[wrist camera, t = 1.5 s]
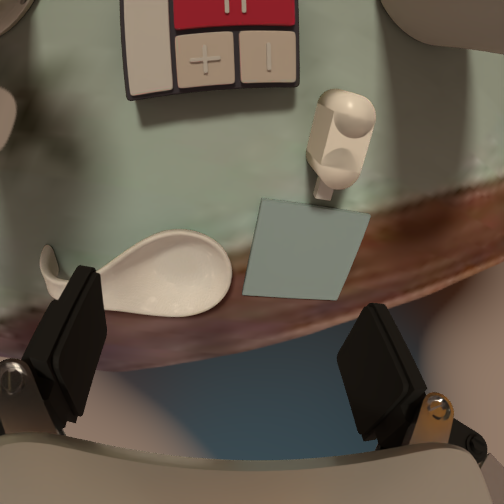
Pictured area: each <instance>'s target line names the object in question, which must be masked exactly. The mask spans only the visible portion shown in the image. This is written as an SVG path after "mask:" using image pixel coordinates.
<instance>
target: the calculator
mask: <svg viewBox="0 0 504 504" xmlns="http://www.w3.org/2000/svg"><path fill="white" fill-rule="evenodd" d="M120 26H121V44H122V57H123V69H124V80H125V90H126V97H127V99H128V100H129V101H134V100H140V99H146V98H152V97H159V96H166V95H173V94H181V93H190V92H200V91H211V90H224V89H240V88H269V87H297V86H298V85H299V82H300V61H299V9H298V0H120Z"/></svg>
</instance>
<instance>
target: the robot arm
mask: <svg viewBox="0 0 504 504" xmlns="http://www.w3.org/2000/svg"><path fill="white" fill-rule="evenodd" d="M33 1H34V0H0V36H1V35H3V34H4V33H6V32H7V31H9V30H10V29H11V28H12V27H13V26H14V25H15V24H17V22H18V21H19V20H20V19H21V18H22V17H23V16H24V15H25V13H26V12H27V10H28V9H29V8H30V6H31V5H32V3H33ZM106 335H107V326H106V319H105V312H104V304H103V295H102V286H101V276H100V273H96V270H95V268H93V267H87V266H81V265H79V266H78V267H77V268H76V270H75V271H74V273H73V275H72V277H71V278H70V280H69V282H68V283H67V285H66V287H65V289H64V290H63V292H62V294H61V296H60V297H59V299H58V300H53V301H52V302H51V303H50V305H49V307H48V308H47V310H46V312H45V314H44V316H43V317H42V319H41V321H40V323H39V325H38V327H37V329H36V331H35V333H34V335H33V337H32V339H31V341H30V343H29V345H28V347H27V349H26V351H25V353H24V355H23V357H22V359H21V360H20V359H15V358H10V359H6V360H3V361H1V362H0V504H504V467H503V466H502V465H501V464H500V463H499V462H498V461H497V460H496V458H495V457H494V456H493V455H492V454H491V453H488V454H487V444H486V442H485V440H484V439H483V437H482V436H481V435H480V434H478V433H477V432H475V431H474V430H472V429H470V428H469V427H467V426H466V425H464V424H462V423H461V422H459V421H458V420H456V419H454V418H453V417H454V409H453V406H452V404H451V402H450V401H449V400H448V399H447V397H445V396H444V395H443V394H440V393H437V392H432V393H429V394H427V395H426V394H425V390H426V389H427V387H426V385H425V382H424V380H423V378H422V376H421V374H420V372H419V370H418V368H417V366H416V363H415V361H414V359H413V357H412V355H411V353H410V351H409V349H408V347H407V345H406V343H405V341H404V340H403V337H402V335H401V333H400V332H399V330H398V328H397V326H396V324H395V322H394V320H393V318H392V316H391V315H390V313H389V311H388V309H387V307H386V306H385V305H384V304H378V303H369V304H368V305H367V306H366V307H364V308H363V310H362V311H361V313H360V315H359V317H358V319H357V321H356V323H355V324H354V326H353V328H352V330H351V331H350V334H349V335H348V337H347V338H346V340H345V342H344V344H343V346H342V347H341V349H340V351H339V352H338V355H337V362H338V366H339V369H340V372H341V376H342V379H343V383H344V386H345V389H346V393H347V396H348V399H349V402H350V406H351V410H352V413H353V416H354V419H355V424H356V427H357V431H358V433H359V434H362V438H363V441H369V440H375V439H376V438H377V440H378V445H377V447H376V449H375V451H371V452H364V453H358V454H351V455H343V456H333V457H323V458H311V459H296V460H261V461H260V460H259V461H258V460H257V461H254V460H220V459H204V458H192V457H181V456H172V455H164V454H157V453H150V452H144V451H137V450H132V449H125V448H120V447H115V446H110V445H105V444H100V443H96V442H91V441H87V440H82V439H77V438H72V437H68V436H66V434H65V432H64V430H63V428H64V427H65V425H66V422H67V421H69V422H73V423H76V420H77V417H78V416H82V415H83V412H84V409H85V405H86V401H87V397H88V394H89V391H90V387H91V384H92V380H93V377H94V374H95V370H96V367H97V364H98V361H99V358H100V354H101V351H102V348H103V345H104V342H105V339H106Z"/></svg>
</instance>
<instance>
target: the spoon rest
mask: <svg viewBox="0 0 504 504" xmlns="http://www.w3.org/2000/svg"><path fill="white" fill-rule="evenodd" d="M40 270H41V272H42V275H43V277H44V279H45V282H46V286H47V290H48V292H49V294H50V295H51V296H52V297H53V298H55V299H56V300H58V299H59V297H60V296H61V294H62V292H63V290H64V289H65V287H66V285H67V283H68V282H69V280H63V279H59V278H57V275H58V273H59V267H58V263H57V260H56V257H55V254H54V251H53V249H52V247H51V246H49V245H45V246H44V248H43V250H42V252H41V256H40ZM96 273H100V276H101V286H102V295H103V304H104V310H113V311H122V312H130V313H137V314H145V315H153V316H166V317H185V316H191V315H196V314H199V313H202V312H205V311H207V310H209V309H211V308H212V307H214V306H215V305H216V304H218V303H219V302H220V301H221V300H222V299H223V298H224V296H225V295H226V293H227V291H228V289H229V287H230V283H231V278H232V266H231V262H230V259H229V257H228V255H227V253H226V251H225V250H224V248H223V247H222V246H221V245H220V244H219V243H218V242H216V241H215V240H214V239H212V238H211V237H209V236H207V235H205V234H202V233H200V232H197V231H193V230H187V229H171V230H165V231H162V232H158V233H156V234H153V235H151V236H149V237H147V238H145V239H143V240H142V241H140V242H138V243H136V244H135V245H133V246H132V247H130V248H129V249H127V250H126V251H124V252H123V253H122V254H120V255H119V256H118V257H116V258H115V259H113V260H112V261H111V262H109V263H108V264H106V265H105V266H104V267H102V268H101V269H99V270H97V271H96Z"/></svg>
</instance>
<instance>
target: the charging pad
mask: <svg viewBox="0 0 504 504" xmlns="http://www.w3.org/2000/svg"><path fill="white" fill-rule="evenodd" d="M370 217H371V216H370V215H369V214H367V213H361V212H355V211H349V210H343V209H337V208H330V207H324V206H317V205H310V204H303V203H296V202H289V201H282V200H274V199H267V198H261V203H260V208H259V213H258V217H257V222H256V227H255V232H254V237H253V241H252V246H251V251H250V256H249V261H248V266H247V270H246V275H245V280H244V285H243V290H242V295H251V296H266V297H283V298H301V299H321V300H337V299H338V296H339V294H340V292H341V289H342V287H343V285H344V282H345V280H346V278H347V275H348V273H349V271H350V268H351V266H352V263H353V261H354V258H355V256H356V253H357V251H358V248H359V246H360V243H361V241H362V238H363V236H364V233H365V230H366V228H367V225H368V223H369V220H370Z"/></svg>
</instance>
